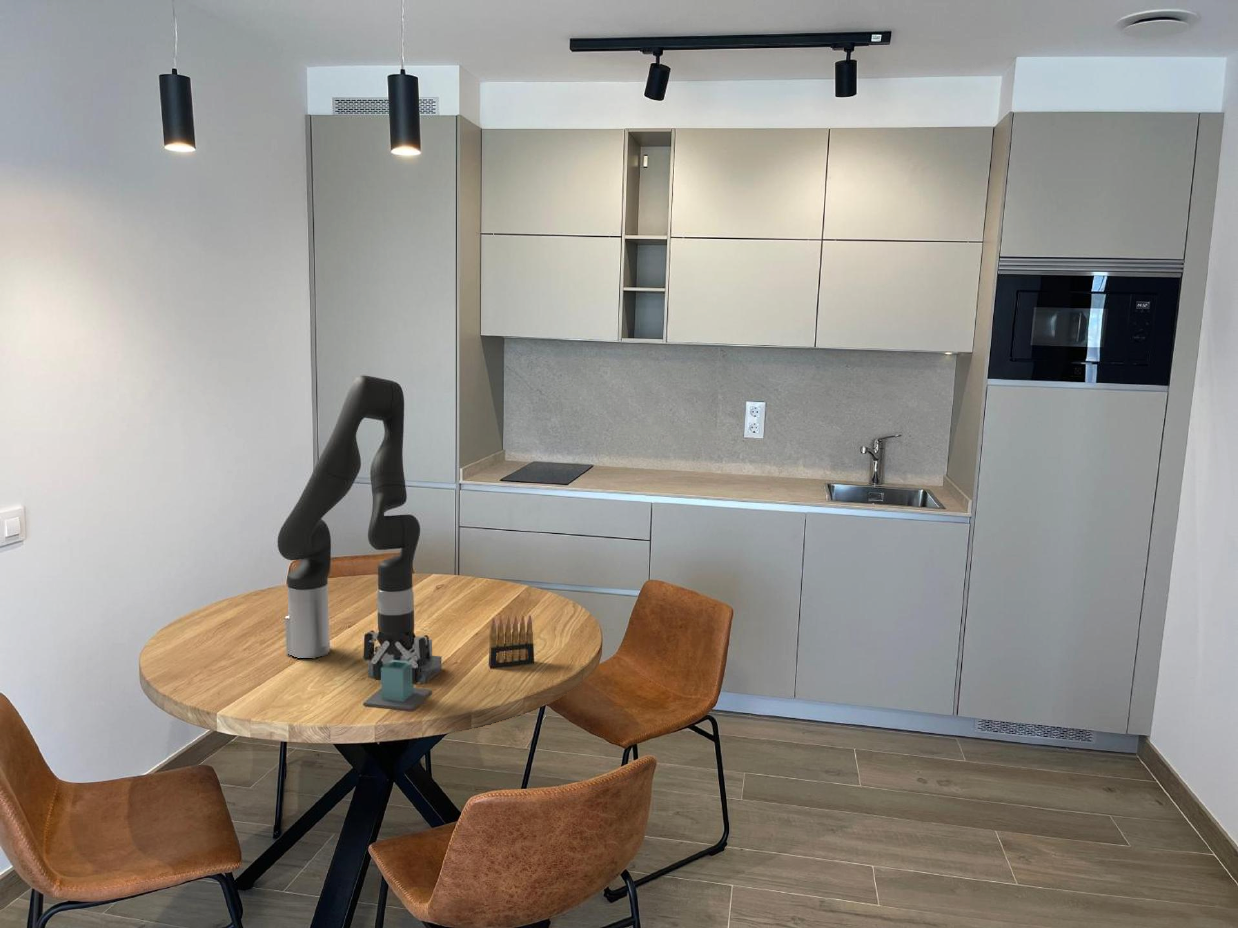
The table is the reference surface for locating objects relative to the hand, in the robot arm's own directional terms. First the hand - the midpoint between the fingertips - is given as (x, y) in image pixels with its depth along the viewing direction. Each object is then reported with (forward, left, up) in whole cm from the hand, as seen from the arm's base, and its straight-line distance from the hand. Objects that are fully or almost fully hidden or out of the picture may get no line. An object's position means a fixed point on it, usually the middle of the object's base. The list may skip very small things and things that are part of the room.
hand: (397, 680), depth 191 cm
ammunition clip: (+17, +25, -4) cm, 31 cm away
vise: (-5, +14, -4) cm, 15 cm away
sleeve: (0, 0, -3) cm, 3 cm away
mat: (0, 0, -4) cm, 4 cm away
